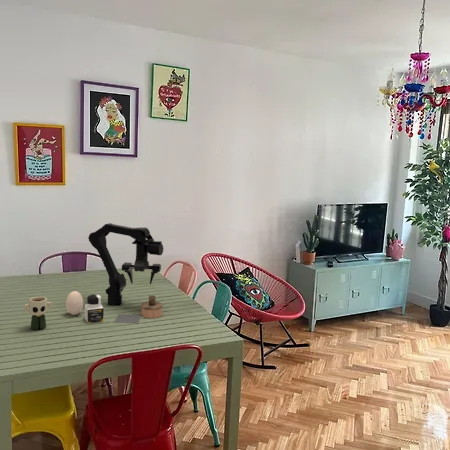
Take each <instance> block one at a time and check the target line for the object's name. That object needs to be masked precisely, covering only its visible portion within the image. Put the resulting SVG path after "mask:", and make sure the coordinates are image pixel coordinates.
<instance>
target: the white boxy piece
mask: <svg viewBox="0 0 450 450" xmlns="http://www.w3.org/2000/svg"><path fill="white" fill-rule="evenodd" d="M86 297H87V298H86V300H87V301H86V303H87V304H84V320H85V322H86V323H87V324H94V323H101V322H104V315H105V313H104V306H103V304H102V296H101V295H99V294H90V295H88V296H86Z"/></svg>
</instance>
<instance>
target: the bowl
mask: <svg viewBox="0 0 450 450" xmlns="http://www.w3.org/2000/svg"><path fill="white" fill-rule="evenodd" d="M140 315H142V316H141V317H143V318H147V319H156V318H159V317H161V316H162V315H163V307H162V308H161V309H158V310H146V309H143V308H142V307H141V313H140Z"/></svg>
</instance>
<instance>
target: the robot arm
mask: <svg viewBox="0 0 450 450" xmlns="http://www.w3.org/2000/svg"><path fill="white" fill-rule="evenodd" d="M111 233H112V234H117V235H122V236H128V237H130V238H132V239H133V240H134V241H132V242H131V244H132V245H135V260H134V264H133V263H132V262H124V263H122V264H121V271H123V272H124V273H126V274H127V275H128V278H129V281H130V283H131V285H132V284H133V283H134V282H133V281H134V279H133V278H134V277H133V269H134V271H135V272H142V273H144V272H145V271H146V270H151V272H150V279H149V285H152V283H153V280H154V277H155V275H156V274H158V273H160V272H161V270H162V265H161V264H160V263H153V264H152V265H150V262H149V261H148V259H149V258H148V257H149V255H153V256H154V255H155V256H162V255H163V253H164V245H163V243H162V241H161V240H160V241H159V240H158V241H157V240H155V239H154V238H153V235H151V232H150V230H149V228H148V227H130V226H124V225H119V224H115V223H110V222H109V223H106V224H104V225H102V226H101V227H100V228H98V229H97V230H95V231H94V232H90V233H89V235H88V237H87V239H88V241H89V243H90V244H91V246H92V247H93V248H94V249H95V250H96V251H97V253H98V255H99V257H100V260H101V261H102V264H103V266H104V267H105V270H106V273H107V275H108V284H109V286H108V287H107V288H106V289H105V294H106V295H107V304H106V306H117V307H119V306H121V305H122V303H123V294H122V292H123V290H124V288H126V286H127V279H126V277H125V274H124V273H123V272H122V273H120V272H119V271H118V269H117V267H116V265H115V262H114V260H113V258H112V256H111V254H110V251H109V249H108V247H107V238H106V237H107V236H108V235H110V234H111Z"/></svg>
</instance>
